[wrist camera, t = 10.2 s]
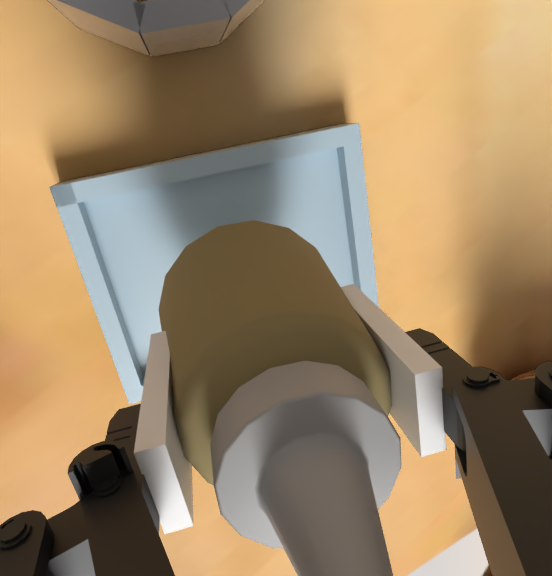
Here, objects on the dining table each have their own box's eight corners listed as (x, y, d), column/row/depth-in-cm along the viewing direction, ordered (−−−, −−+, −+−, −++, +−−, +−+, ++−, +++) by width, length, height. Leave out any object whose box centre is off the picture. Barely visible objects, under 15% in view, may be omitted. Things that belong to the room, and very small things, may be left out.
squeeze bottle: (134, 240, 22) (-4, 587, 6) (287, 182, 23) (577, 344, 6) (198, 371, 25) (229, 846, 9) (331, 318, 26) (602, 671, 9)
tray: (346, 122, 26) (359, 123, 24) (370, 324, 31) (382, 337, 29) (59, 182, 24) (49, 187, 22) (132, 386, 29) (129, 404, 27)
